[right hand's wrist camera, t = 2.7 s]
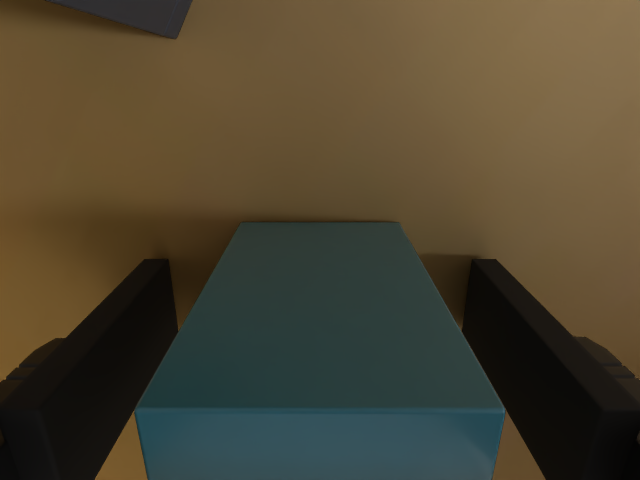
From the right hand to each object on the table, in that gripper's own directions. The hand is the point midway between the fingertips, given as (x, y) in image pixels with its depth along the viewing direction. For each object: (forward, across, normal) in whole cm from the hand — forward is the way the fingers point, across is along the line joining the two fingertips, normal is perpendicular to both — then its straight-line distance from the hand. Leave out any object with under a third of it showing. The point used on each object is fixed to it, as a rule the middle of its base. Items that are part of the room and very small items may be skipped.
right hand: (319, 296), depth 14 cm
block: (0, 0, 0) cm, 0 cm away
